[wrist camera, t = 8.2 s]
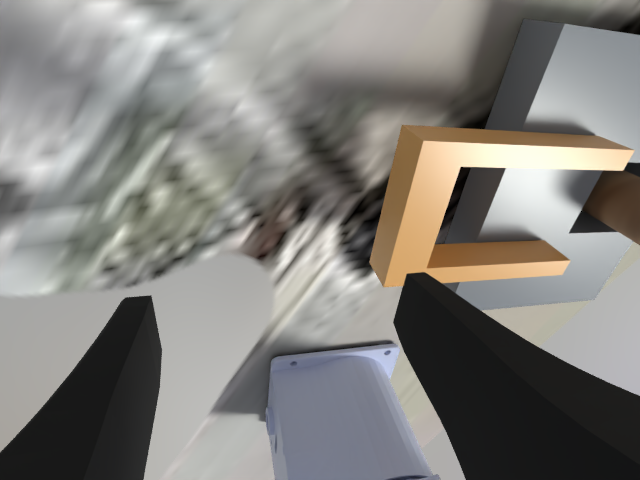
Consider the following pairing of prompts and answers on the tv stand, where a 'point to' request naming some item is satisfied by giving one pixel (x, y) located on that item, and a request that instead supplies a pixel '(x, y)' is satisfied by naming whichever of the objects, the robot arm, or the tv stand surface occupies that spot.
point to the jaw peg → (617, 202)
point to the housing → (553, 184)
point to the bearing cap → (436, 188)
